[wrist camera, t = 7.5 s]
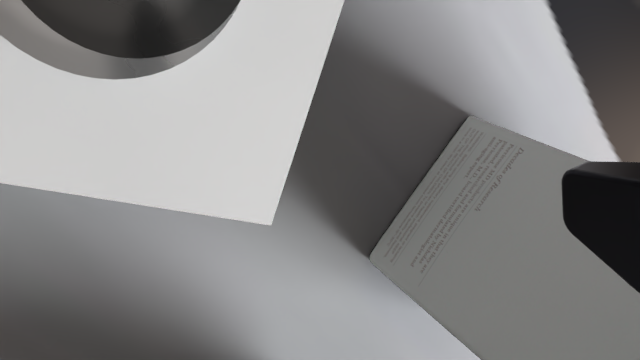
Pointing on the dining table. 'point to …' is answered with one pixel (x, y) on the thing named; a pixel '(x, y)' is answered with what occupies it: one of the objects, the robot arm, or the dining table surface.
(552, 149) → the supplement box
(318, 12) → the pale grey box
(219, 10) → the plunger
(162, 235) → the dining table surface
